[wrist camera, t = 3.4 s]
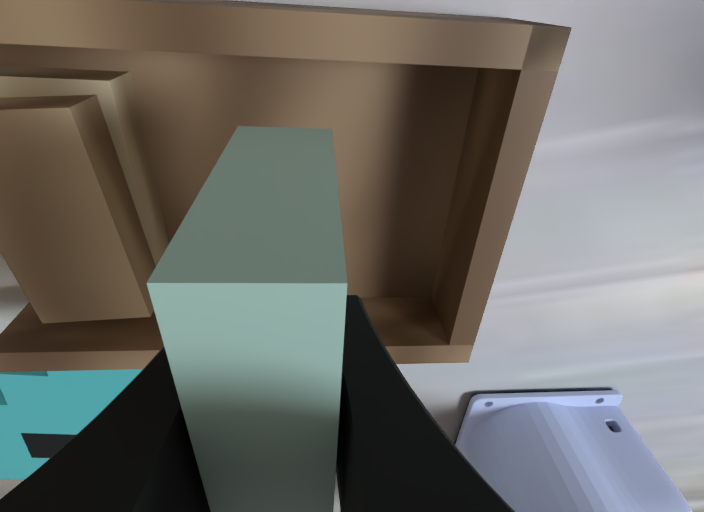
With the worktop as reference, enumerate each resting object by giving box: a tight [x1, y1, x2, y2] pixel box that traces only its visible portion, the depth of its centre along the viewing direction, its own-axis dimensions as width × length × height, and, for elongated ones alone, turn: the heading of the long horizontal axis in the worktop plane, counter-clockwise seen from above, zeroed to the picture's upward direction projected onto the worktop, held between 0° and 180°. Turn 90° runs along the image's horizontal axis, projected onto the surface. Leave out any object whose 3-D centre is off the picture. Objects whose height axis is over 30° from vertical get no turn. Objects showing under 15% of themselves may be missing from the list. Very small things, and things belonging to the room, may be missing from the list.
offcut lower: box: [0, 66, 169, 266], centre depth 14 cm, size 4×8×2 cm, turn 177°
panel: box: [147, 126, 347, 512], centre depth 9 cm, size 2×8×6 cm, turn 177°
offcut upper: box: [0, 95, 156, 323], centre depth 13 cm, size 4×7×2 cm, turn 1°
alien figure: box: [0, 369, 143, 480], centre depth 24 cm, size 20×2×20 cm
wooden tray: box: [0, 0, 571, 372], centre depth 14 cm, size 18×12×4 cm, turn 87°
